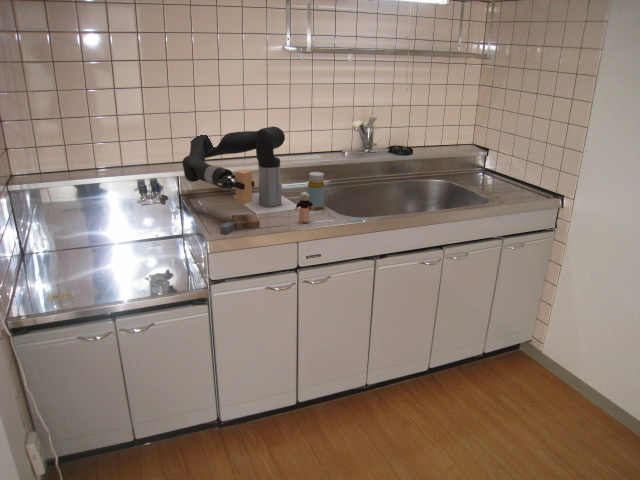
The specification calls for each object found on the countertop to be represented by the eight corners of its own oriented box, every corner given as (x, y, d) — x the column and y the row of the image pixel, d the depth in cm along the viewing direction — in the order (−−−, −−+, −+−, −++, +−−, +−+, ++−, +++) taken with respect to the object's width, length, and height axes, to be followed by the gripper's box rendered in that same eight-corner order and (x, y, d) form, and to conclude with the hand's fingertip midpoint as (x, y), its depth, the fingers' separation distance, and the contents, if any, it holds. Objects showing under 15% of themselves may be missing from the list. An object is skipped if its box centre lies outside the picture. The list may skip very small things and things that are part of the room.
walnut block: (254, 220, 209) (254, 213, 208) (259, 228, 201) (259, 221, 200) (232, 222, 206) (232, 215, 205) (236, 230, 199) (236, 223, 198)
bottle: (326, 206, 228) (327, 173, 222) (319, 210, 222) (320, 176, 216) (311, 203, 230) (312, 170, 224) (304, 208, 224) (305, 174, 219)
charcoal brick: (235, 229, 199) (235, 222, 198) (227, 235, 194) (227, 227, 193) (228, 228, 200) (228, 221, 199) (220, 233, 195) (220, 226, 194)
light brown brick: (244, 199, 203) (243, 169, 198) (252, 201, 200) (251, 171, 196) (235, 201, 200) (235, 171, 195) (243, 204, 197) (243, 173, 193)
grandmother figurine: (297, 224, 205) (297, 194, 200) (293, 221, 209) (294, 191, 204) (315, 222, 208) (316, 192, 203) (311, 219, 211) (312, 189, 207)
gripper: (232, 182, 212) (262, 191, 202) (204, 189, 202) (235, 199, 192) (232, 164, 209) (262, 172, 200) (203, 170, 199) (234, 179, 189)
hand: (248, 185), depth 196 cm, fingers closed on light brown brick, 4 cm apart
